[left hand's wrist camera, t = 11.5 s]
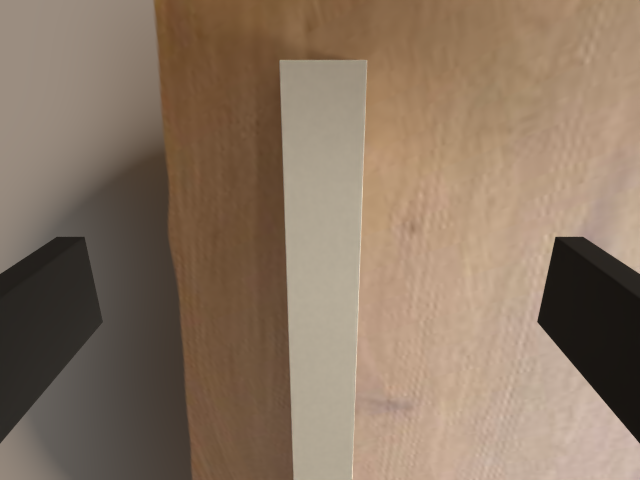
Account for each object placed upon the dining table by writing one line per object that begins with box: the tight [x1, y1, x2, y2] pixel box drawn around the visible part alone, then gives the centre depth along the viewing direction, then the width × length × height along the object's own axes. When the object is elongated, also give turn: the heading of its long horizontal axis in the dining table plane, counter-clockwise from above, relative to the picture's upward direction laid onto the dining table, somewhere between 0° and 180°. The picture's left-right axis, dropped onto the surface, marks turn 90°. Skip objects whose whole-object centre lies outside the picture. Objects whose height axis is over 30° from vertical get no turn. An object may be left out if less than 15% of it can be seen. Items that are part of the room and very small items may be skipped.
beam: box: [279, 60, 367, 480], centre depth 43 cm, size 76×5×8 cm, turn 0°
